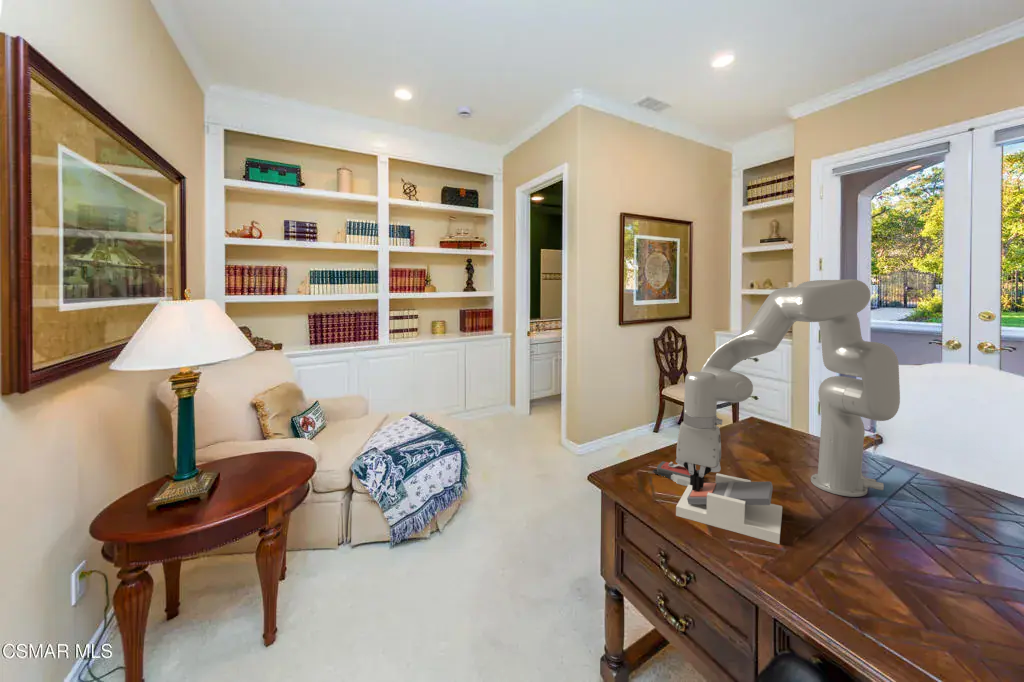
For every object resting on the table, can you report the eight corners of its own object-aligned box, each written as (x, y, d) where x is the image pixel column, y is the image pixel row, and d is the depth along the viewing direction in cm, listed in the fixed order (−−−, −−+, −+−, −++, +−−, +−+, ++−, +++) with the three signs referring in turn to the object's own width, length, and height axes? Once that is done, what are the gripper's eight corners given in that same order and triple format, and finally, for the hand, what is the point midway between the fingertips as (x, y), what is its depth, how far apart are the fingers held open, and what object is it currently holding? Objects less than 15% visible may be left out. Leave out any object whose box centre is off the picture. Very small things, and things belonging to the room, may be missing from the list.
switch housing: (781, 515, 103) (783, 487, 102) (779, 544, 91) (781, 512, 90) (688, 492, 115) (689, 467, 114) (675, 515, 104) (676, 487, 103)
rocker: (773, 488, 101) (770, 480, 101) (770, 506, 93) (768, 497, 93) (697, 489, 112) (695, 481, 112) (688, 505, 104) (686, 497, 104)
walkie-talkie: (649, 477, 126) (720, 497, 113) (649, 464, 126) (721, 482, 113) (660, 468, 133) (728, 485, 120) (660, 455, 132) (728, 471, 119)
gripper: (734, 421, 104) (730, 490, 106) (672, 412, 112) (670, 476, 114) (730, 429, 98) (726, 503, 100) (665, 419, 106) (663, 486, 108)
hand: (696, 488), depth 107 cm, fingers closed
